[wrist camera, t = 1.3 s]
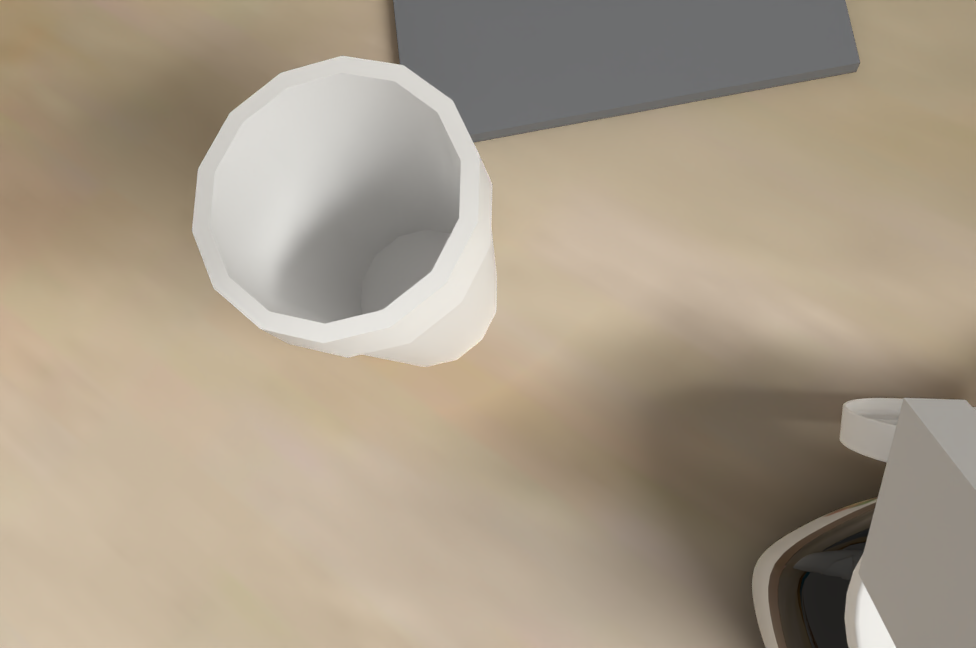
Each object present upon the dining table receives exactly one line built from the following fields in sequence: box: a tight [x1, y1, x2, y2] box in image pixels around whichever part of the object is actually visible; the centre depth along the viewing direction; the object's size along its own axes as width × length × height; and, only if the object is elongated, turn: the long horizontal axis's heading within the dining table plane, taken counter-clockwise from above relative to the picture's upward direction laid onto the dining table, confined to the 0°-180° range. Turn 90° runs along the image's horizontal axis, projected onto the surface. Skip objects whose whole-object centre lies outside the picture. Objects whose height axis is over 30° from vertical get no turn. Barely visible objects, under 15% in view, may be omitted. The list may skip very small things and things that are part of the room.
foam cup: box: [192, 56, 497, 367], centre depth 35 cm, size 10×9×13 cm
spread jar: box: [752, 398, 976, 648], centre depth 30 cm, size 12×11×12 cm
